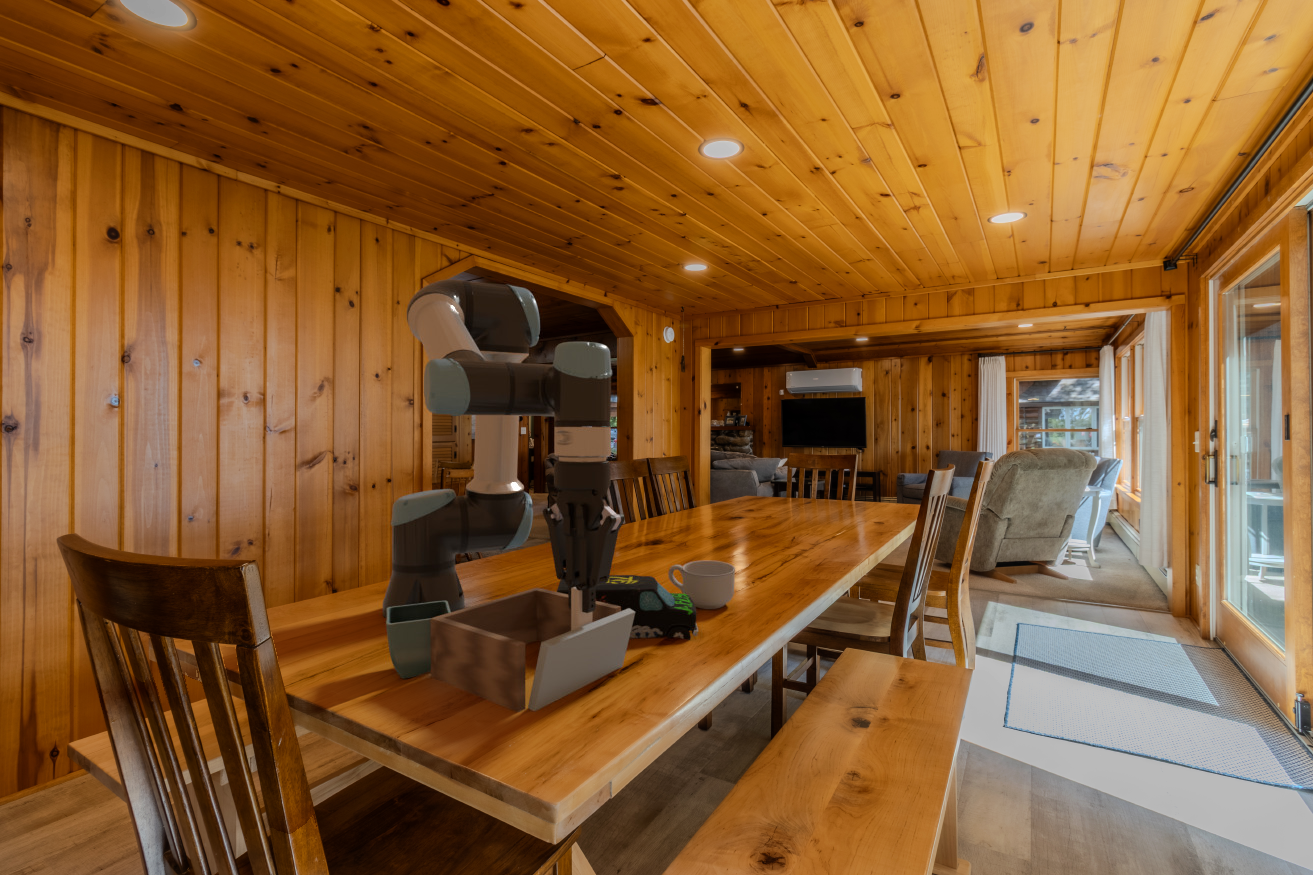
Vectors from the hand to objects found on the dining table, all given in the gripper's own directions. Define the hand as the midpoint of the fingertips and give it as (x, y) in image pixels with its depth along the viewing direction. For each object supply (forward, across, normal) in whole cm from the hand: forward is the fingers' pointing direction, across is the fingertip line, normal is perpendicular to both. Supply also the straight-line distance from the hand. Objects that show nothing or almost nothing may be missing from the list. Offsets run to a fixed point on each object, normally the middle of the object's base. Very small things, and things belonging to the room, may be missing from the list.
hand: (581, 634), depth 81 cm
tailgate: (+7, -1, 0) cm, 7 cm away
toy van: (+9, -10, +22) cm, 26 cm away
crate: (+8, -10, 0) cm, 13 cm away
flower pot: (+9, -26, -8) cm, 28 cm away
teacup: (+9, -10, +46) cm, 48 cm away
